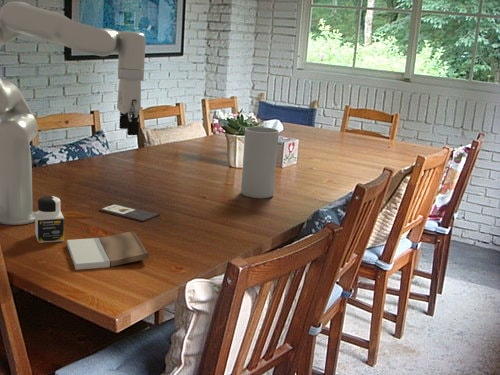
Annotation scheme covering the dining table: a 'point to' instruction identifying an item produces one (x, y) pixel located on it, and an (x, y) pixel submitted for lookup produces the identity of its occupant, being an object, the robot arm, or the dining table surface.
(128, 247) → the plank
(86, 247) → the laid board
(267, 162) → the cylinder vase
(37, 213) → the medicine bottle
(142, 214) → the chocolate bar
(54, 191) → the dining table surface
